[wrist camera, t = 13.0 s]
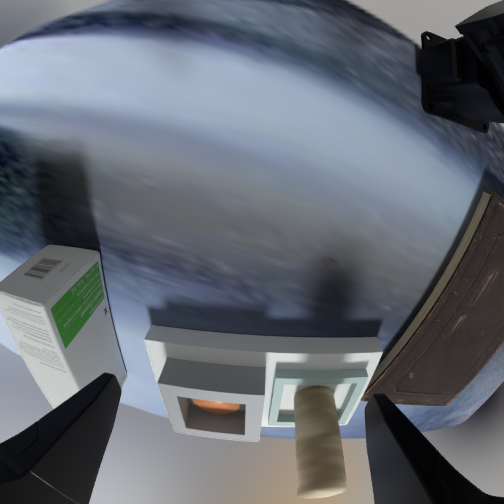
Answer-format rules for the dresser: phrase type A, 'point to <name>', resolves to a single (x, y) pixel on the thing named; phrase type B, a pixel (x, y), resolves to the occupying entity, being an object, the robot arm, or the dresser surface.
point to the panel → (254, 377)
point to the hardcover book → (452, 320)
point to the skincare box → (62, 320)
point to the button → (216, 406)
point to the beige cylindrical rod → (318, 444)
